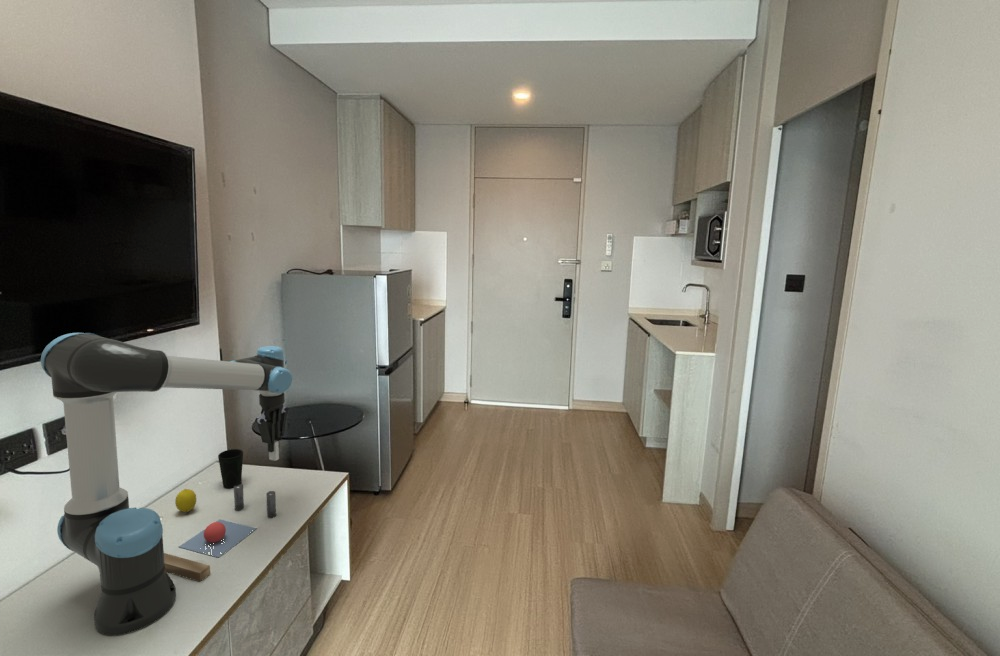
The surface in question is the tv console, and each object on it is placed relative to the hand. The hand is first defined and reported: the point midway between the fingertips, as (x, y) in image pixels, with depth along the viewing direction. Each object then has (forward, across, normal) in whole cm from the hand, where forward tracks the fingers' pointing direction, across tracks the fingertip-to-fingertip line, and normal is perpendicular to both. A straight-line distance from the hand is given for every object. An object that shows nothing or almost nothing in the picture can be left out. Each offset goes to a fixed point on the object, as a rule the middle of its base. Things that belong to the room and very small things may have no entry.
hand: (274, 459), depth 154 cm
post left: (+14, +9, -6) cm, 18 cm away
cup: (+15, -2, -20) cm, 25 cm away
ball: (+12, +24, 0) cm, 27 cm away
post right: (+14, +9, +6) cm, 18 cm away
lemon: (+15, +16, -20) cm, 29 cm away
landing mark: (+14, +23, 0) cm, 27 cm away
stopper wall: (+14, +37, 0) cm, 40 cm away
